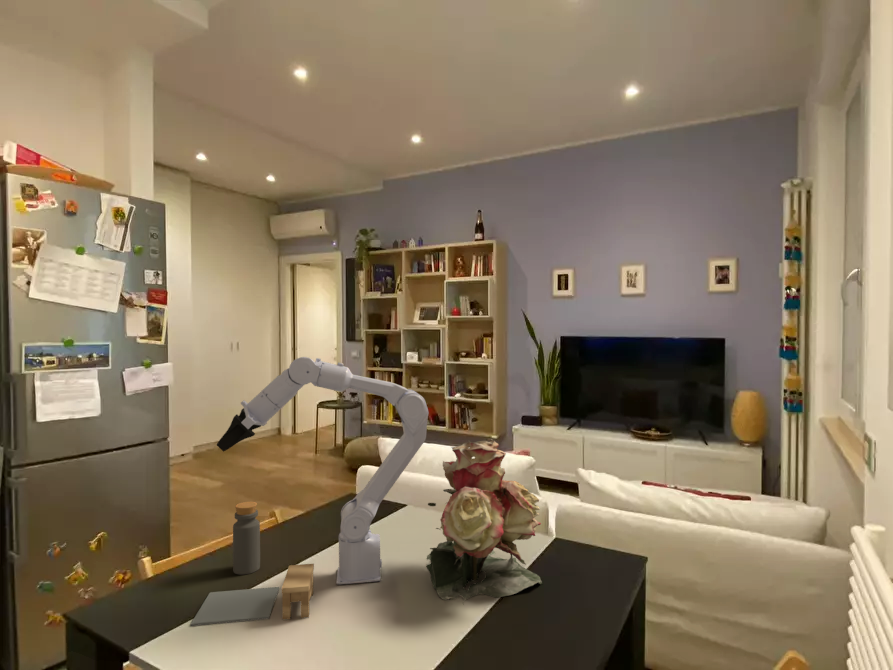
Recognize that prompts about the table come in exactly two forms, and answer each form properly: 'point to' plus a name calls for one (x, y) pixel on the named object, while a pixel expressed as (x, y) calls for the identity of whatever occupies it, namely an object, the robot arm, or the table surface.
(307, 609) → the oak stool
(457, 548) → the rose bouquet
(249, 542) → the bottle
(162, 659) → the table surface
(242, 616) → the grey mat
